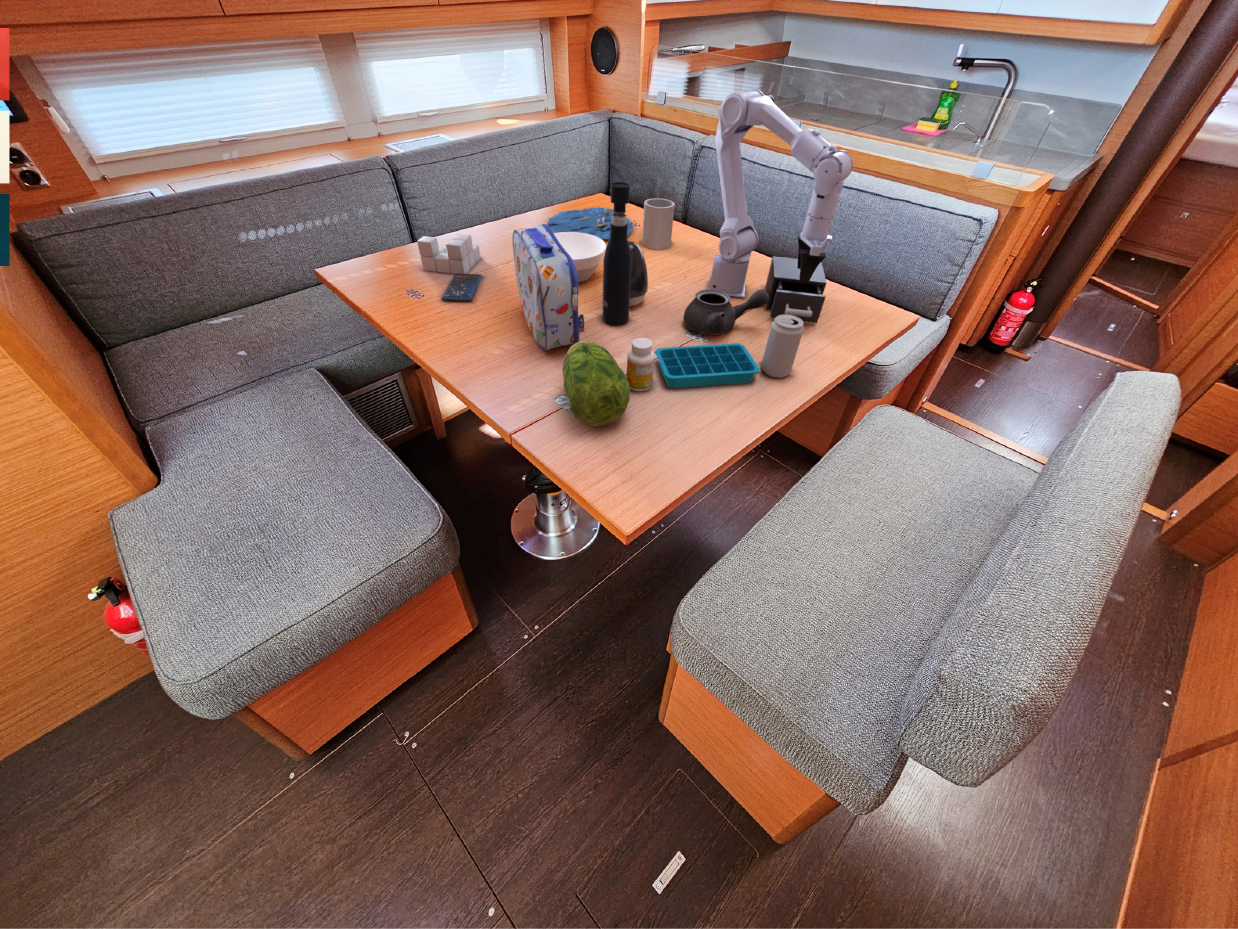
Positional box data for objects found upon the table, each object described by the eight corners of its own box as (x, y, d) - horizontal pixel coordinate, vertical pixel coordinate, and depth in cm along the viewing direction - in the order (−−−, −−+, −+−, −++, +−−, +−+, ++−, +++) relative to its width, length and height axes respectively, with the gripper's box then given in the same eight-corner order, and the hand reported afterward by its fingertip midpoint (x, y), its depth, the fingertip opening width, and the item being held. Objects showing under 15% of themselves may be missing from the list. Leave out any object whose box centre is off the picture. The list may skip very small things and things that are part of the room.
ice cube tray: (758, 384, 107) (762, 372, 105) (665, 391, 104) (666, 378, 102) (739, 354, 115) (742, 342, 113) (652, 360, 112) (653, 348, 110)
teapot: (690, 346, 117) (697, 305, 110) (678, 314, 128) (683, 275, 121) (770, 344, 119) (781, 304, 112) (750, 313, 130) (759, 274, 123)
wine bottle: (632, 316, 127) (640, 182, 106) (623, 327, 122) (630, 191, 102) (607, 311, 128) (611, 178, 107) (598, 322, 124) (600, 186, 103)
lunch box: (590, 356, 113) (590, 255, 98) (544, 364, 110) (537, 261, 94) (554, 301, 131) (549, 209, 116) (514, 307, 128) (503, 213, 113)
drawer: (818, 331, 123) (827, 305, 118) (770, 325, 124) (777, 299, 119) (812, 300, 135) (820, 275, 130) (768, 295, 136) (775, 270, 131)
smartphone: (482, 273, 139) (470, 298, 128) (482, 276, 140) (471, 301, 129) (454, 272, 139) (440, 297, 128) (454, 275, 139) (441, 300, 128)
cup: (671, 249, 159) (675, 208, 151) (642, 248, 159) (644, 207, 150) (669, 239, 165) (673, 198, 157) (641, 237, 165) (644, 197, 157)
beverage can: (790, 381, 108) (806, 330, 100) (759, 377, 109) (773, 325, 101) (789, 365, 113) (804, 315, 105) (759, 361, 114) (773, 311, 105)
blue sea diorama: (603, 256, 157) (603, 238, 153) (527, 232, 167) (526, 215, 164) (652, 225, 174) (653, 209, 170) (581, 205, 185) (580, 190, 181)
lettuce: (606, 368, 109) (607, 320, 101) (635, 429, 95) (638, 378, 87) (553, 375, 107) (550, 326, 99) (574, 438, 92) (572, 386, 85)
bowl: (522, 281, 139) (519, 250, 133) (555, 256, 152) (554, 227, 146) (588, 296, 134) (588, 264, 128) (616, 268, 147) (617, 239, 141)
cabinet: (816, 315, 131) (826, 282, 125) (766, 309, 132) (774, 276, 126) (811, 292, 140) (821, 261, 134) (765, 287, 142) (772, 256, 136)
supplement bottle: (624, 377, 107) (626, 335, 100) (650, 376, 108) (654, 335, 101) (627, 392, 103) (629, 350, 97) (653, 391, 104) (657, 349, 97)
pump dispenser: (614, 290, 137) (616, 231, 126) (651, 297, 135) (656, 237, 124) (600, 306, 130) (601, 245, 119) (639, 314, 128) (644, 252, 117)
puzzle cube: (480, 258, 149) (476, 230, 143) (464, 275, 140) (459, 245, 135) (441, 254, 150) (436, 225, 145) (423, 270, 141) (416, 241, 136)
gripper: (842, 227, 108) (822, 289, 118) (834, 206, 119) (817, 264, 128) (808, 224, 109) (791, 285, 118) (803, 203, 119) (788, 261, 129)
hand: (802, 274), depth 123 cm, fingers open, 7 cm apart
